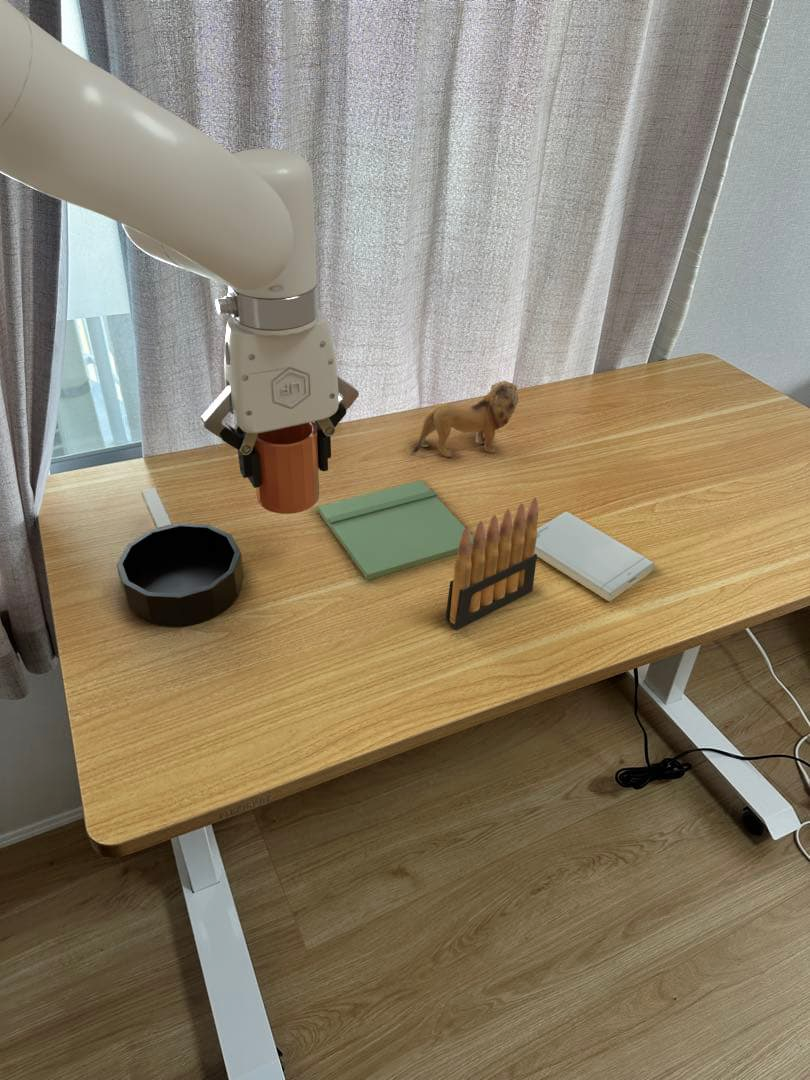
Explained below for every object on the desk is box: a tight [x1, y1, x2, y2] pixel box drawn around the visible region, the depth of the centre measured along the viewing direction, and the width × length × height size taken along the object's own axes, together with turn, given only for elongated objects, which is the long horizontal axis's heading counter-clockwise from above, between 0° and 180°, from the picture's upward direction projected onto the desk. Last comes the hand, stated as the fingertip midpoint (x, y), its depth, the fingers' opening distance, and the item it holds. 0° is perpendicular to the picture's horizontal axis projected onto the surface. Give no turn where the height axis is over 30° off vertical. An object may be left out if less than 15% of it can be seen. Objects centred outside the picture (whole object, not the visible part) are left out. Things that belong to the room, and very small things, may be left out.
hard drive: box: [534, 511, 656, 602], centre depth 91 cm, size 2×8×12 cm
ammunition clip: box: [444, 497, 539, 630], centre depth 81 cm, size 11×2×12 cm, turn 127°
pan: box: [116, 486, 245, 628], centre depth 87 cm, size 12×20×4 cm, turn 27°
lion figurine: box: [411, 380, 519, 458], centre depth 107 cm, size 15×5×9 cm, turn 110°
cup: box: [254, 422, 320, 515], centre depth 82 cm, size 6×6×8 cm
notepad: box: [317, 479, 474, 581], centre depth 94 cm, size 14×14×1 cm
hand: (286, 471), depth 83 cm, fingers closed on cup, 6 cm apart
